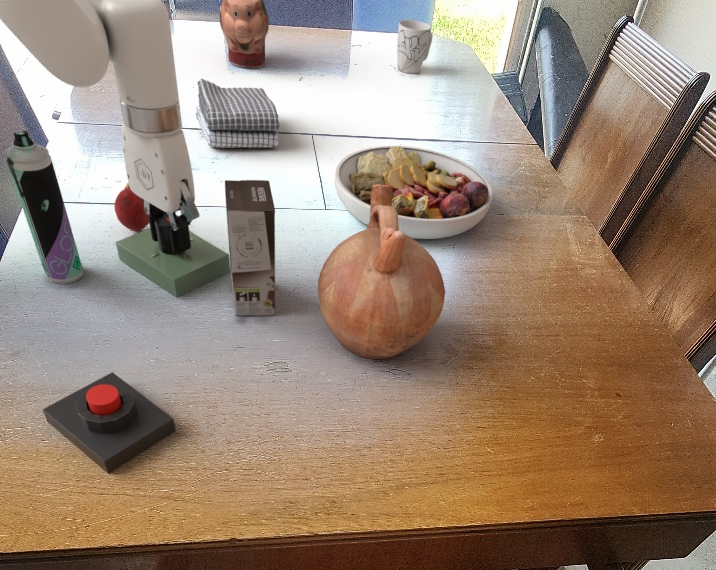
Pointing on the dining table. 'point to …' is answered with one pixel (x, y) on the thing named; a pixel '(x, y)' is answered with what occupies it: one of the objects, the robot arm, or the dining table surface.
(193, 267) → the dial panel
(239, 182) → the coffee box
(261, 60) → the pig figurine
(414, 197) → the bowl
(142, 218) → the red oval fruit
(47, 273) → the spray can
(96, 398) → the button
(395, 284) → the jug
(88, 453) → the button block
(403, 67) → the mug
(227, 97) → the towel
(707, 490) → the dining table surface
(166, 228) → the dial
